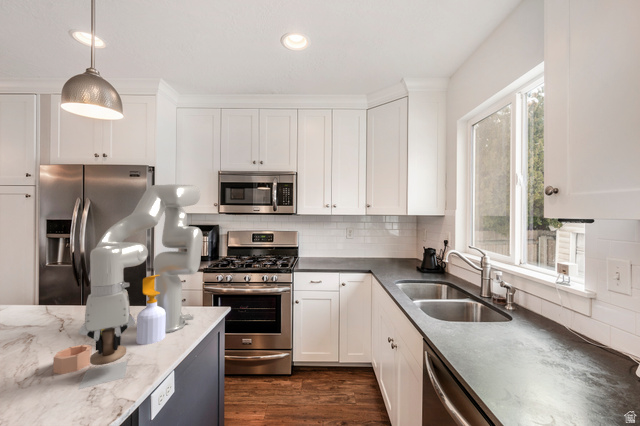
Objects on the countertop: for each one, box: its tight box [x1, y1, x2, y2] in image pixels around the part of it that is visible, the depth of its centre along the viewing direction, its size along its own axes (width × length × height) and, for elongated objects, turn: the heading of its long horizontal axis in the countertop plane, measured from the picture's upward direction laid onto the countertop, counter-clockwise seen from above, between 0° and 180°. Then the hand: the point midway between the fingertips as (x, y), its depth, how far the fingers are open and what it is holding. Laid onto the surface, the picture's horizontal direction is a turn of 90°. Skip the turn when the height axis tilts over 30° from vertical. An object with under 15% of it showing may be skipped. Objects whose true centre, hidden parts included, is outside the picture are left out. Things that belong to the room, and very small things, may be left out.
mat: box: [77, 360, 129, 390], centre depth 77 cm, size 10×10×1 cm
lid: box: [90, 327, 127, 366], centre depth 78 cm, size 8×8×8 cm
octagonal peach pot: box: [52, 344, 93, 375], centre depth 81 cm, size 8×8×5 cm
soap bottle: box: [136, 275, 166, 346], centre depth 99 cm, size 9×9×25 cm
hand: (108, 349), depth 79 cm, fingers closed on lid, 3 cm apart
